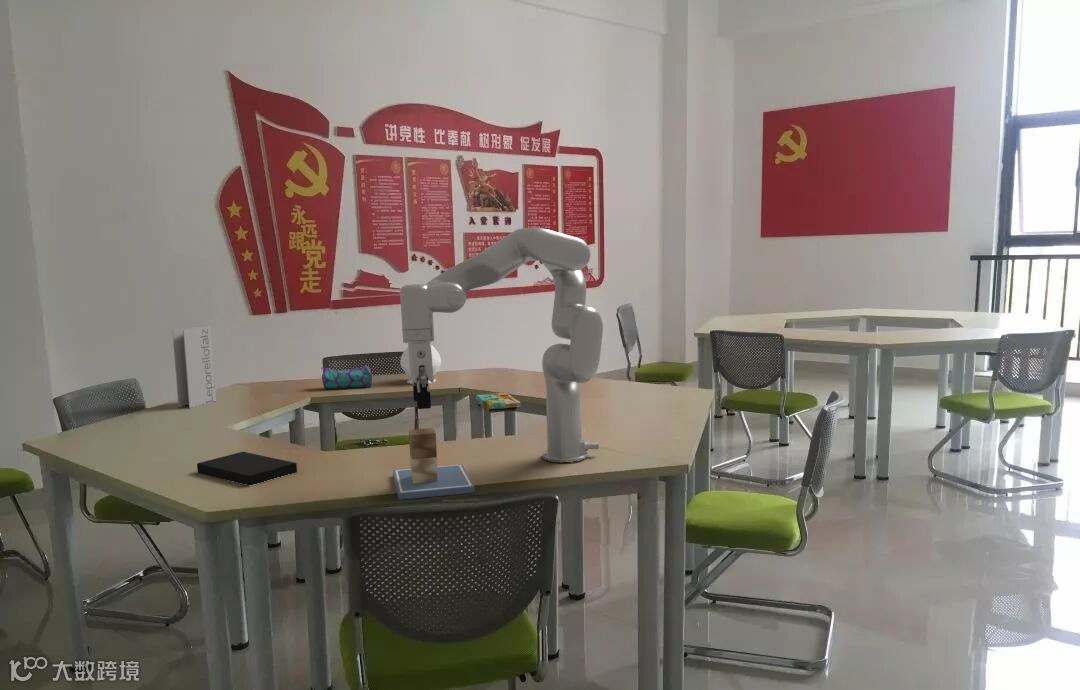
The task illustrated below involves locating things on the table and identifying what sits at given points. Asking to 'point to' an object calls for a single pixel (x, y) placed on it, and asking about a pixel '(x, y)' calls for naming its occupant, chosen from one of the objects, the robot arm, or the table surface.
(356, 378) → the pencil case
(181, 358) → the brochure
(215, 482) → the table surface
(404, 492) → the blueprint board
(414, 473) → the maple base block
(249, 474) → the external hard drive
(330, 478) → the table surface
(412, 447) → the walnut block
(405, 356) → the decorative vase
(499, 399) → the puzzle game
